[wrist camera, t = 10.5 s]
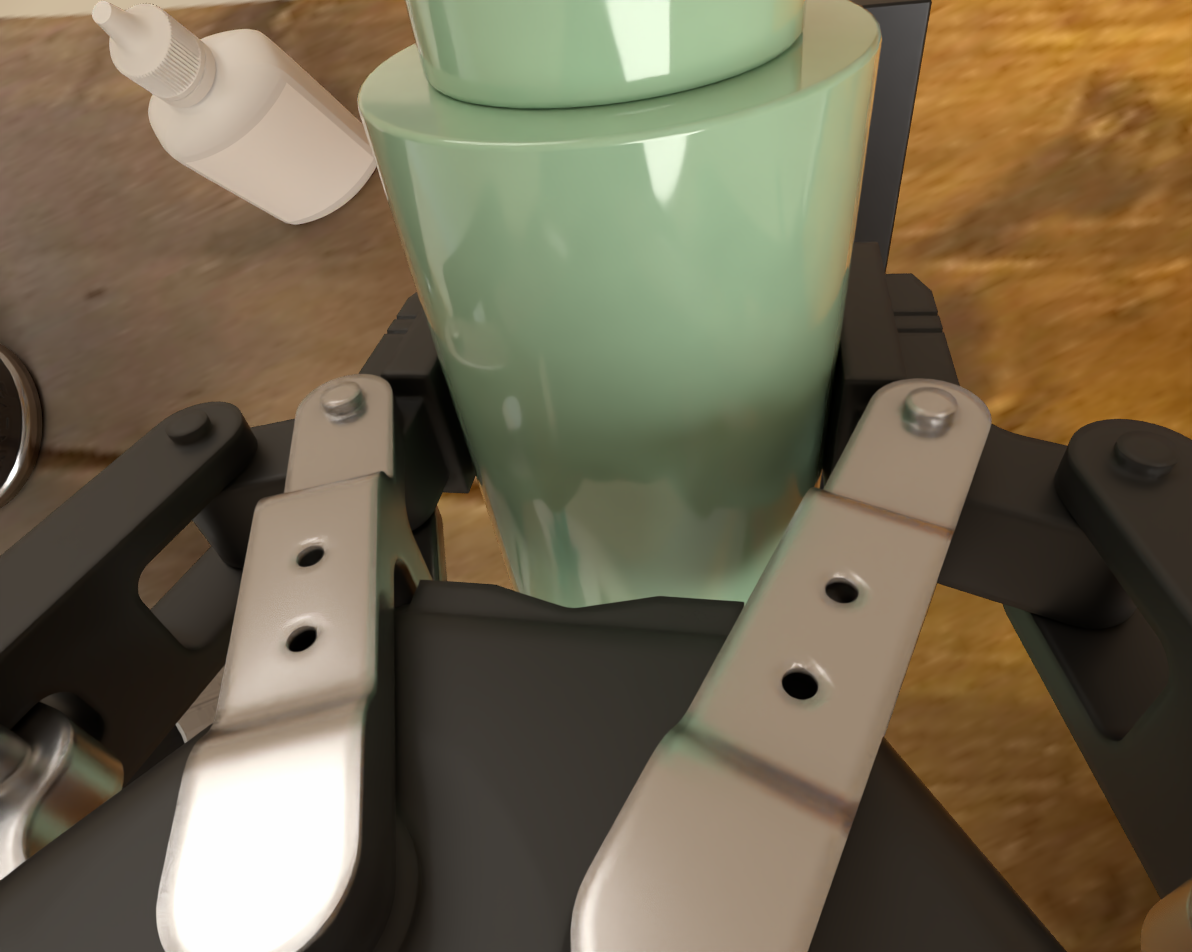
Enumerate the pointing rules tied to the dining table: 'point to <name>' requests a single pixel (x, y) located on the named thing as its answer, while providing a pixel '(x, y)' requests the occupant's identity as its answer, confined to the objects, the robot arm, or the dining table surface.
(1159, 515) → the robot arm
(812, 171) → the bottle
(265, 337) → the dining table surface
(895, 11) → the cradle
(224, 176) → the eye dropper bottle
